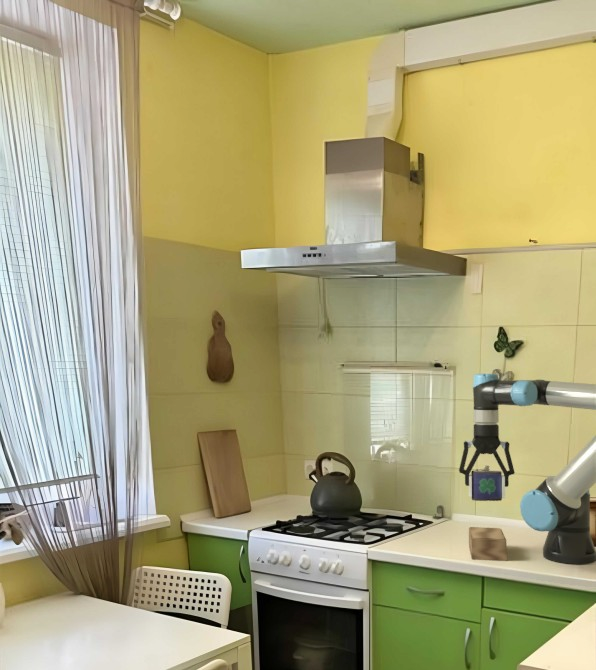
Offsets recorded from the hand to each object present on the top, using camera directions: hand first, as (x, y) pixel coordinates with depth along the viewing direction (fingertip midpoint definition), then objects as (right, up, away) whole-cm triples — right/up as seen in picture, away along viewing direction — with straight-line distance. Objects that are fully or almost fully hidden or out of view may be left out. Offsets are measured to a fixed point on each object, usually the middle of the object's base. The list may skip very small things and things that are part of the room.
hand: (486, 496), depth 231 cm
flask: (0, -1, 0) cm, 1 cm away
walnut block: (0, -17, -1) cm, 17 cm away
